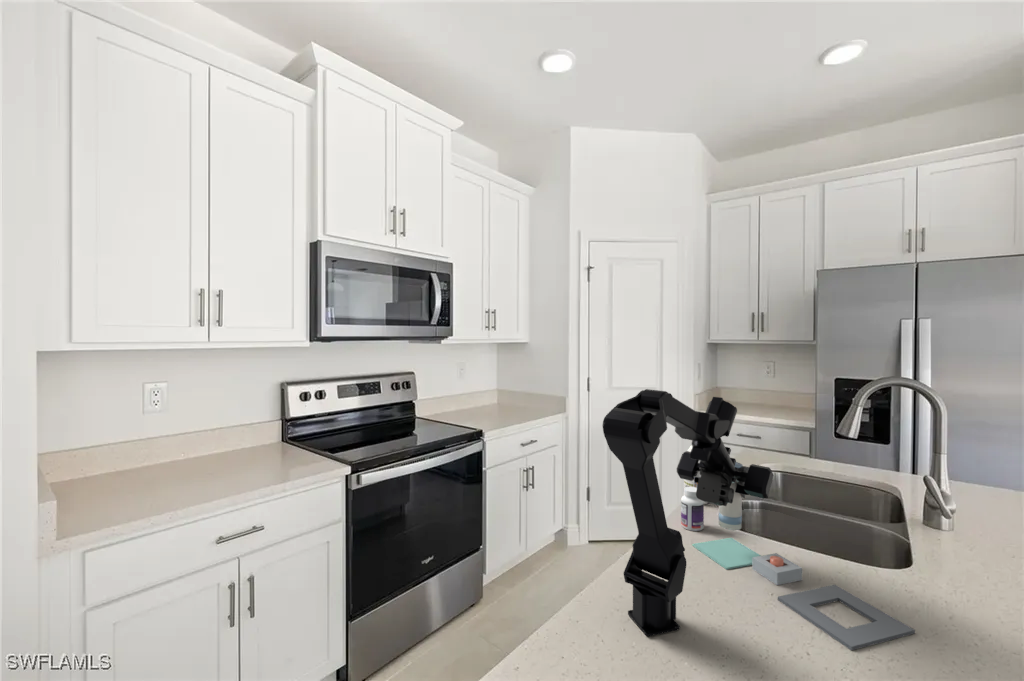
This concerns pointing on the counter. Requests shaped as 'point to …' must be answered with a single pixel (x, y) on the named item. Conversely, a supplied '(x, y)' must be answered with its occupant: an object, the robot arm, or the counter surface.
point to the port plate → (849, 637)
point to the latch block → (777, 569)
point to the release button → (776, 561)
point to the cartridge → (732, 510)
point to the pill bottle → (692, 510)
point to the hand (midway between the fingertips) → (732, 492)
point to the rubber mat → (727, 552)
